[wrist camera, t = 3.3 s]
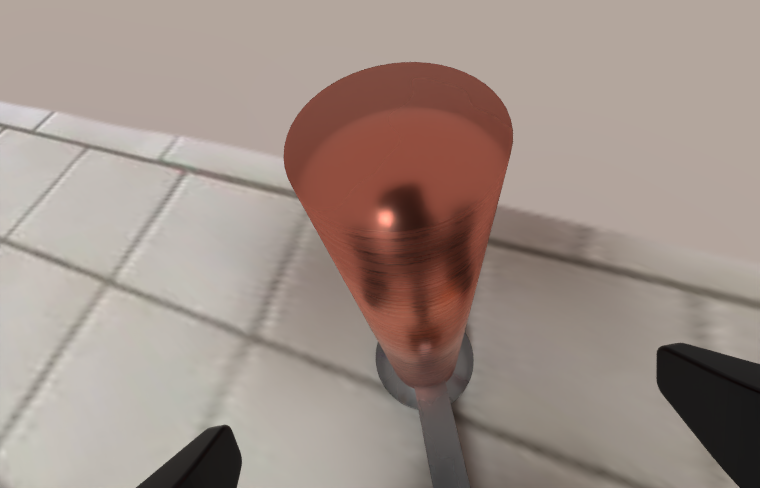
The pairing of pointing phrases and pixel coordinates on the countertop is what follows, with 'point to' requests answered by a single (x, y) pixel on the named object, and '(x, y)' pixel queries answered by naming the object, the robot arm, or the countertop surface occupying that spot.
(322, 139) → the copper pillar
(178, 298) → the countertop surface
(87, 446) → the countertop surface
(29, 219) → the countertop surface
